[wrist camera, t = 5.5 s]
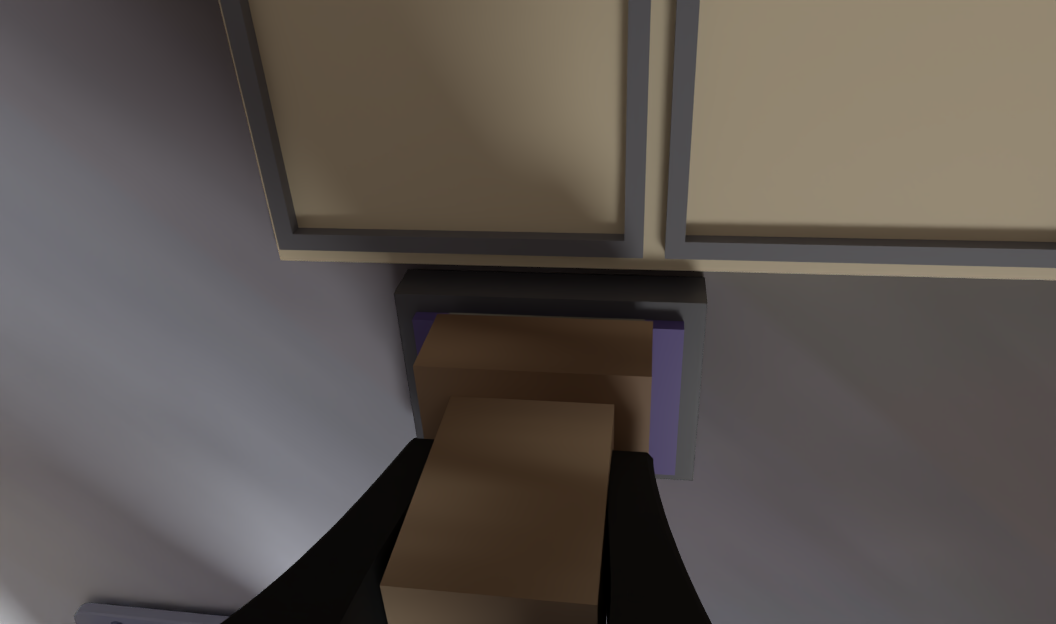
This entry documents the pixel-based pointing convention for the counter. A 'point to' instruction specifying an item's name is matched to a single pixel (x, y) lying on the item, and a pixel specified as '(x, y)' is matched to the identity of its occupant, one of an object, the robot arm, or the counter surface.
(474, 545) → the stamp
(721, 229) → the beige divided tray
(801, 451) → the counter surface
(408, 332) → the ink pad
